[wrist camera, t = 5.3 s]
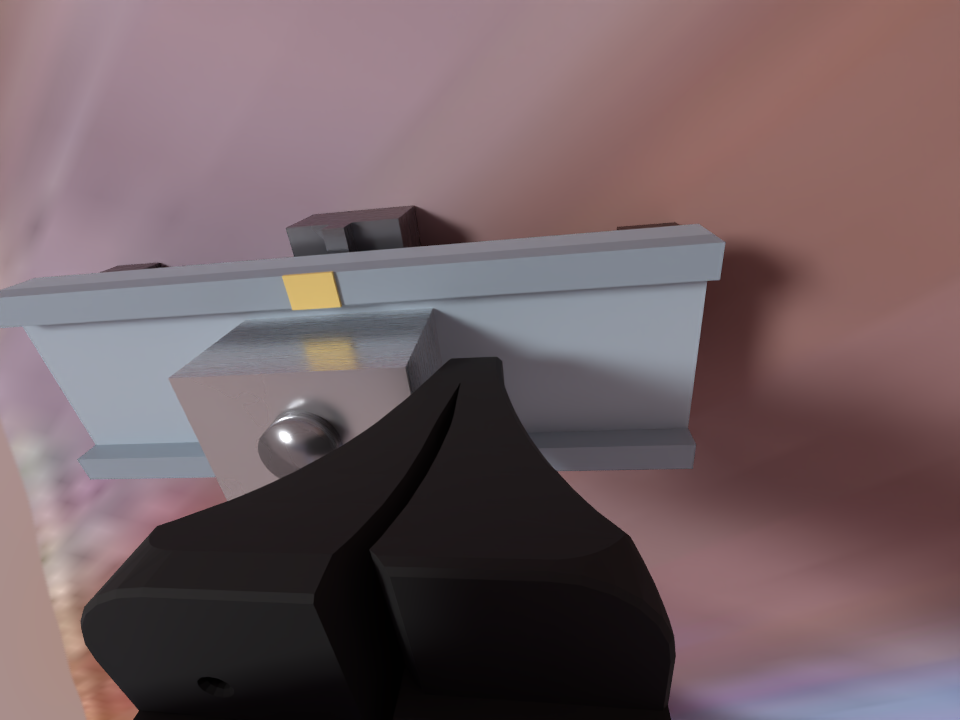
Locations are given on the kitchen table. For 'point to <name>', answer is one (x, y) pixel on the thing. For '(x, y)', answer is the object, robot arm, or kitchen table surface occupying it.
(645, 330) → the beam
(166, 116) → the kitchen table surface
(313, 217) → the stand
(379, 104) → the kitchen table surface
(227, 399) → the block
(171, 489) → the kitchen table surface
